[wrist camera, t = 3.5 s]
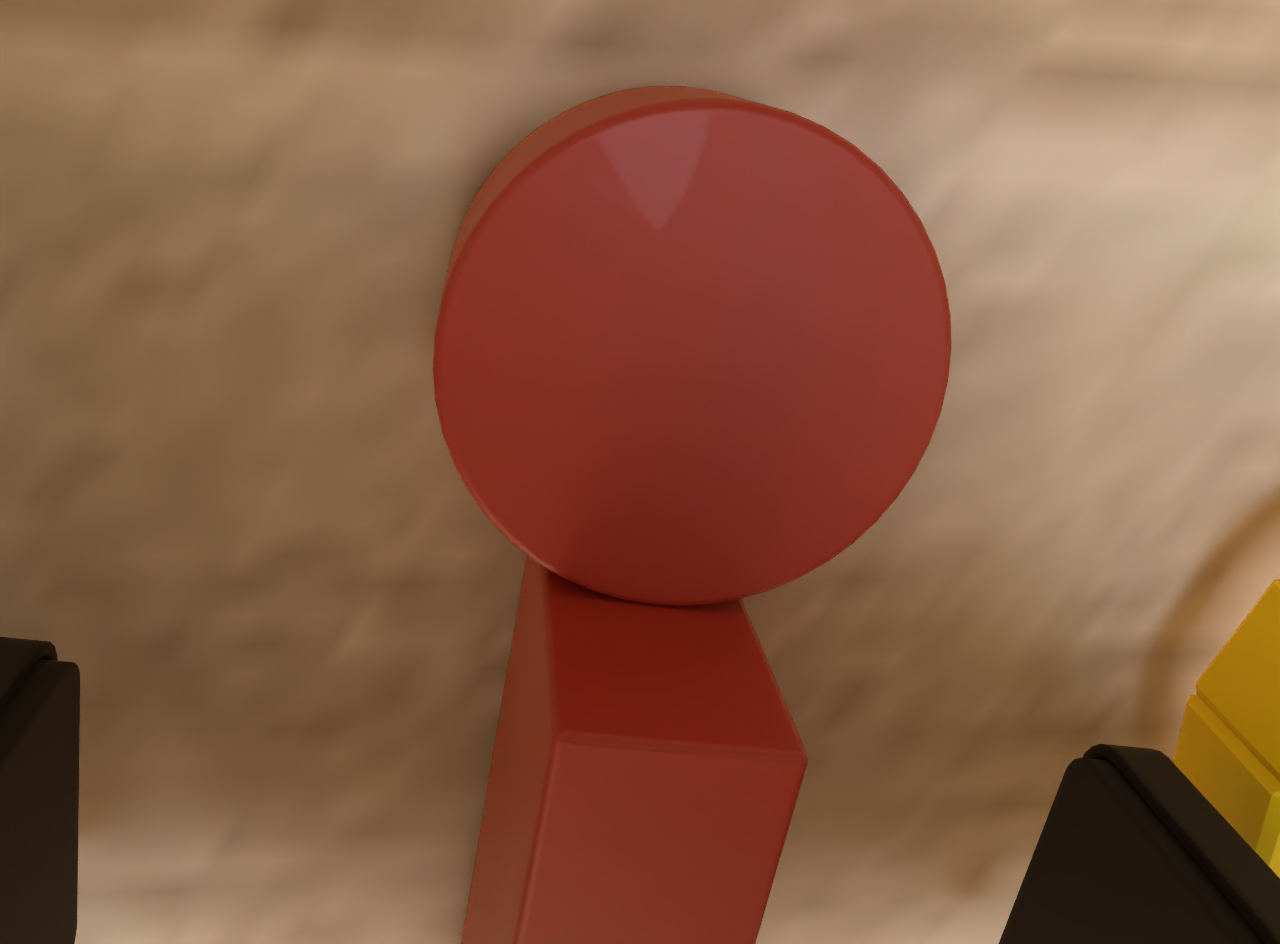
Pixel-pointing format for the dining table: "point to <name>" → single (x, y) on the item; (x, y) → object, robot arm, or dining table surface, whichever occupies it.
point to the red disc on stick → (670, 484)
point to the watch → (1240, 730)
